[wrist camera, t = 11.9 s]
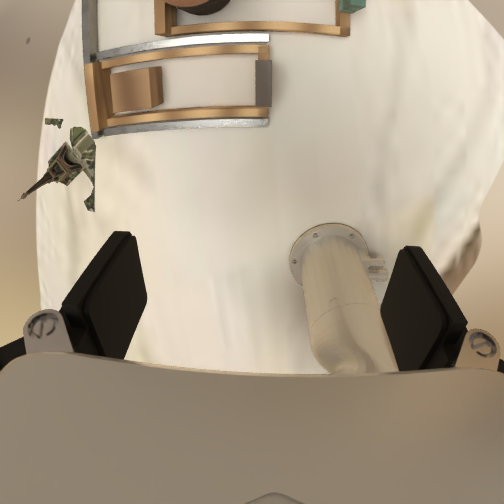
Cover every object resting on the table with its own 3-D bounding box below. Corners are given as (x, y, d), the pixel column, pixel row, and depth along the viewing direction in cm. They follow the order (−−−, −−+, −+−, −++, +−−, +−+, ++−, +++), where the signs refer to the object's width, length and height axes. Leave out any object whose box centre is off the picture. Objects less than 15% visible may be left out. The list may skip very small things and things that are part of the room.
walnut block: (161, 66, 35) (148, 67, 30) (163, 102, 37) (151, 108, 33) (126, 71, 35) (110, 74, 31) (129, 106, 38) (113, 113, 33)
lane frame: (267, -59, 24) (268, -65, 22) (267, 124, 39) (268, 128, 37) (91, -32, 25) (83, -35, 23) (100, 134, 40) (92, 139, 37)
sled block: (270, 46, 33) (271, 41, 26) (269, 113, 38) (271, 125, 31) (102, 62, 34) (71, 66, 27) (107, 123, 39) (79, 138, 32)
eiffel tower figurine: (97, 211, 47) (57, 259, 36) (48, 202, 46) (3, 244, 35) (99, 120, 39) (47, 148, 28) (45, 117, 38) (-11, 143, 27)
